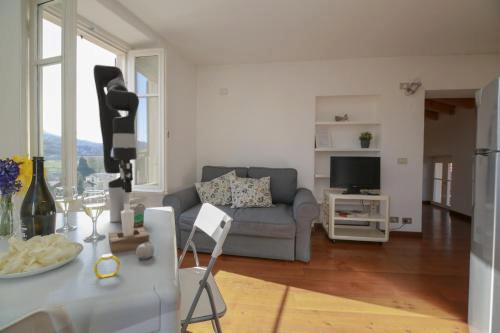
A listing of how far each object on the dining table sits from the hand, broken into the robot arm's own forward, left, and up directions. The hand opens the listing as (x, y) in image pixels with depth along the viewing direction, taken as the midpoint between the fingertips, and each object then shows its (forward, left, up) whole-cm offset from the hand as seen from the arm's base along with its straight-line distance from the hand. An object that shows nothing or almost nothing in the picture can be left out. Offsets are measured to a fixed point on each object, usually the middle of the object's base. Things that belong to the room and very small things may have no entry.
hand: (126, 190), depth 89 cm
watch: (+23, -8, -20) cm, 32 cm away
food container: (-20, +6, -20) cm, 29 cm away
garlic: (+16, +3, -20) cm, 26 cm away
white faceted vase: (0, 0, -20) cm, 20 cm away
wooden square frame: (0, 0, -20) cm, 20 cm away
